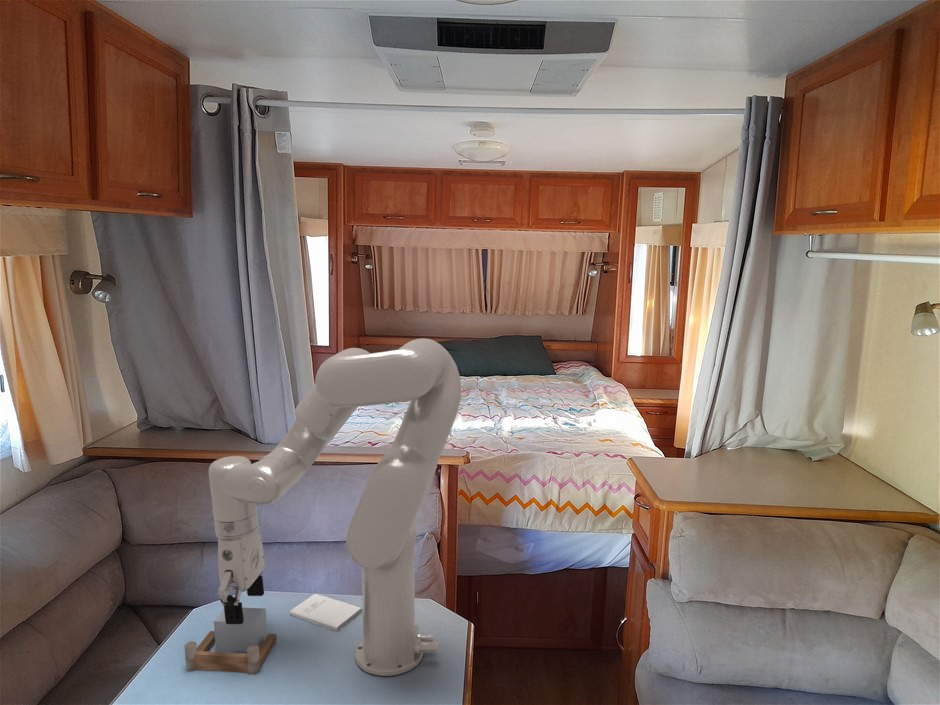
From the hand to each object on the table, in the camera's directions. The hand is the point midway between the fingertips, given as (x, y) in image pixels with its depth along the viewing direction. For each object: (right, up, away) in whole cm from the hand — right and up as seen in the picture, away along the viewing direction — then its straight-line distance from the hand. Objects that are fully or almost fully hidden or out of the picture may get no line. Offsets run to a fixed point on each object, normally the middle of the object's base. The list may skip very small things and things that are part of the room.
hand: (245, 608), depth 125 cm
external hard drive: (+13, -6, +12) cm, 18 cm away
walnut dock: (-2, -8, -2) cm, 8 cm away
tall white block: (-1, -7, +1) cm, 7 cm away
